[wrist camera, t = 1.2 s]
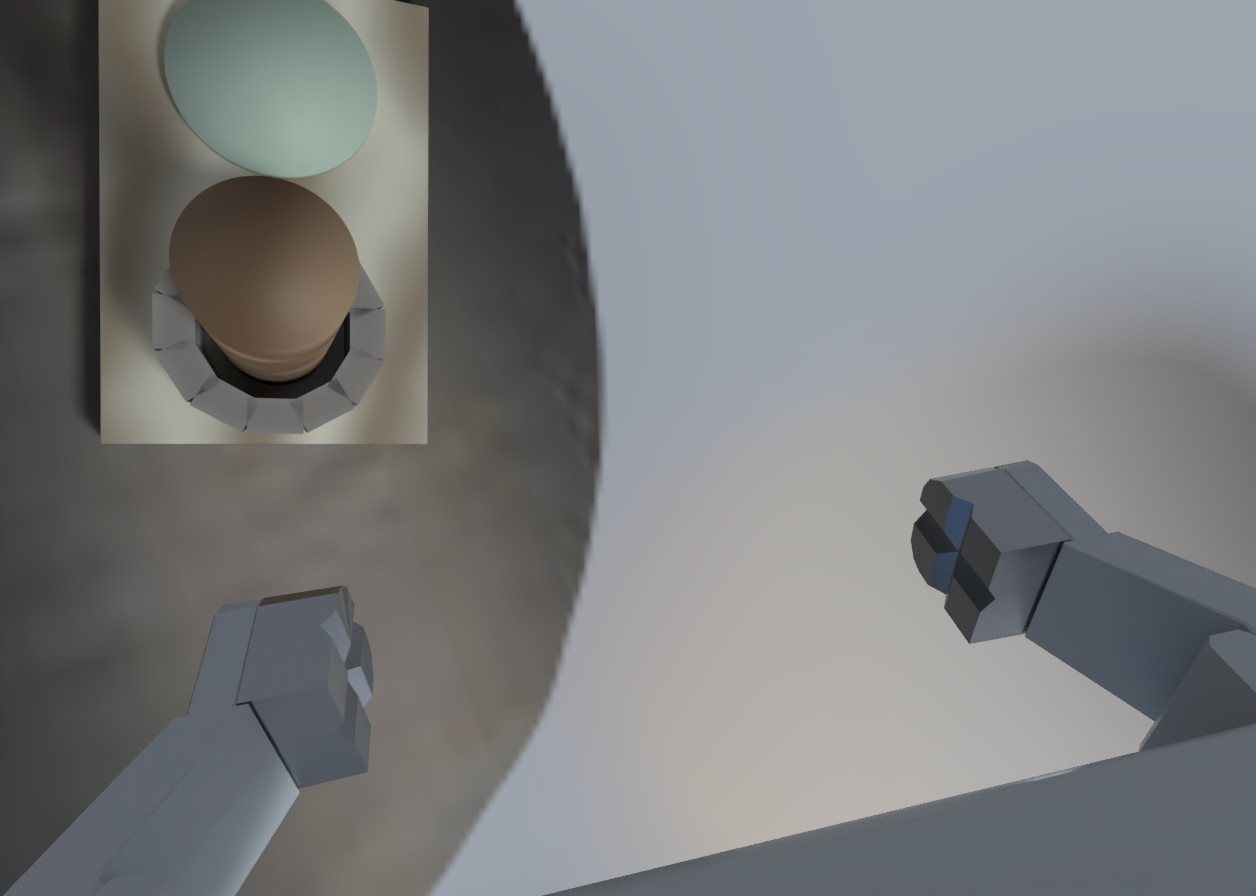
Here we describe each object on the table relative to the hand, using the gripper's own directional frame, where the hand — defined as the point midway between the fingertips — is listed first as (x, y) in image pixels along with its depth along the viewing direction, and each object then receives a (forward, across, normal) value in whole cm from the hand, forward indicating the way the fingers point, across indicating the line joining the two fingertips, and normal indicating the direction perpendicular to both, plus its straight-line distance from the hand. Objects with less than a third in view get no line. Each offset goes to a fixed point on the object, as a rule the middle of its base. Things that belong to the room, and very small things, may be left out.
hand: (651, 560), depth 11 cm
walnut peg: (+28, +12, +10) cm, 32 cm away
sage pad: (+34, +10, 0) cm, 36 cm away
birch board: (+32, +11, +6) cm, 35 cm away
